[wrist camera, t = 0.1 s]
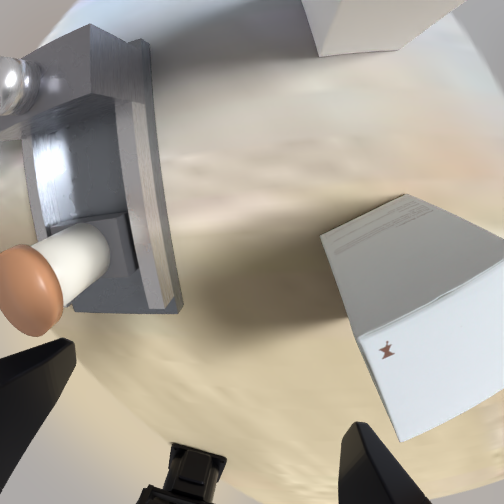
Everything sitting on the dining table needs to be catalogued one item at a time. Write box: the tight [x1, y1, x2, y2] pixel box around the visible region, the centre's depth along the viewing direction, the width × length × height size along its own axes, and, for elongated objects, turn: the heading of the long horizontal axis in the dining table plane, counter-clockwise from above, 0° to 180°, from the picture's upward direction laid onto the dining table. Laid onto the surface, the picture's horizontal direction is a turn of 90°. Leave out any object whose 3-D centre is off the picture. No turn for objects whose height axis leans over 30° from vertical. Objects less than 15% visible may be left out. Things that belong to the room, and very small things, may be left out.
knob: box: [0, 212, 139, 337], centre depth 17 cm, size 5×6×9 cm
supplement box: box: [320, 194, 504, 442], centre depth 16 cm, size 7×7×13 cm
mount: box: [0, 24, 184, 314], centre depth 18 cm, size 20×10×8 cm, turn 6°
